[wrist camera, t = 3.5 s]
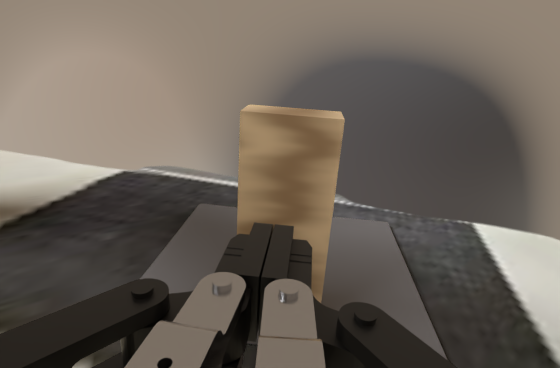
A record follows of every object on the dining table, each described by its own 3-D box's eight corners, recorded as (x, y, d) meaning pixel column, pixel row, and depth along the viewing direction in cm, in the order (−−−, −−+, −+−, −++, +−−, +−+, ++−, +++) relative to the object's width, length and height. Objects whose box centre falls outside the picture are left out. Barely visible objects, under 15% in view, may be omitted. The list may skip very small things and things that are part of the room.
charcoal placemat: (108, 325, 24) (107, 319, 24) (199, 207, 43) (199, 203, 42) (446, 368, 22) (448, 362, 22) (387, 226, 41) (387, 222, 41)
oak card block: (234, 309, 25) (240, 111, 21) (242, 283, 28) (249, 104, 23) (319, 319, 25) (344, 119, 20) (318, 292, 28) (341, 111, 23)
